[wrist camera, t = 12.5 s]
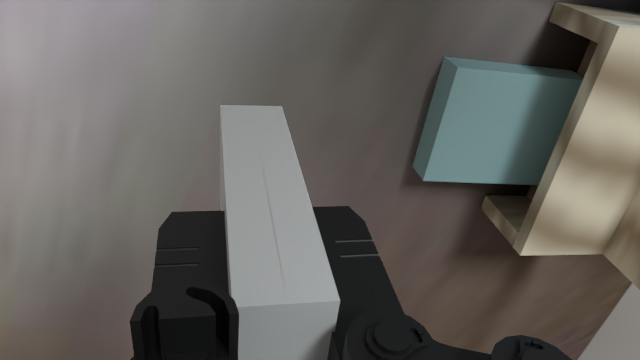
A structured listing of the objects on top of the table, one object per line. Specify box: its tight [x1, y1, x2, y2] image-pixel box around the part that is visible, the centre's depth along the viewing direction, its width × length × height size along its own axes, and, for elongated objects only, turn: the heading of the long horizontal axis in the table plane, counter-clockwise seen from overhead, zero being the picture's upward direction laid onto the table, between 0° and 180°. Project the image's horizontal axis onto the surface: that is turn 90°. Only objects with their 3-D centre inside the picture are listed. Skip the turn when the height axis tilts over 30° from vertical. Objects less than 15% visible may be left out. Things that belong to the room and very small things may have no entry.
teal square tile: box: [413, 57, 584, 185], centre depth 43 cm, size 10×12×3 cm
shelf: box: [481, 2, 640, 289], centre depth 41 cm, size 20×10×12 cm, turn 171°
